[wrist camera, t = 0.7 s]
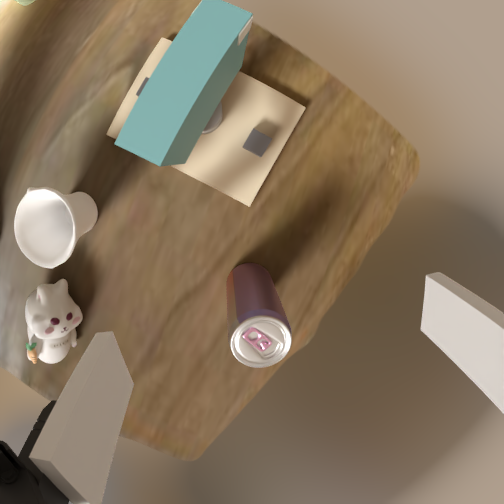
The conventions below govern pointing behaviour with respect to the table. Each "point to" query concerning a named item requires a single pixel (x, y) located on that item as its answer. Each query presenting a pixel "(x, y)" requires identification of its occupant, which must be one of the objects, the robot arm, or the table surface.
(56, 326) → the white ceramic figurine
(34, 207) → the cup
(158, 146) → the teal rectangular panel
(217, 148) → the post base
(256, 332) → the beverage can
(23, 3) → the candle
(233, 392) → the table surface
